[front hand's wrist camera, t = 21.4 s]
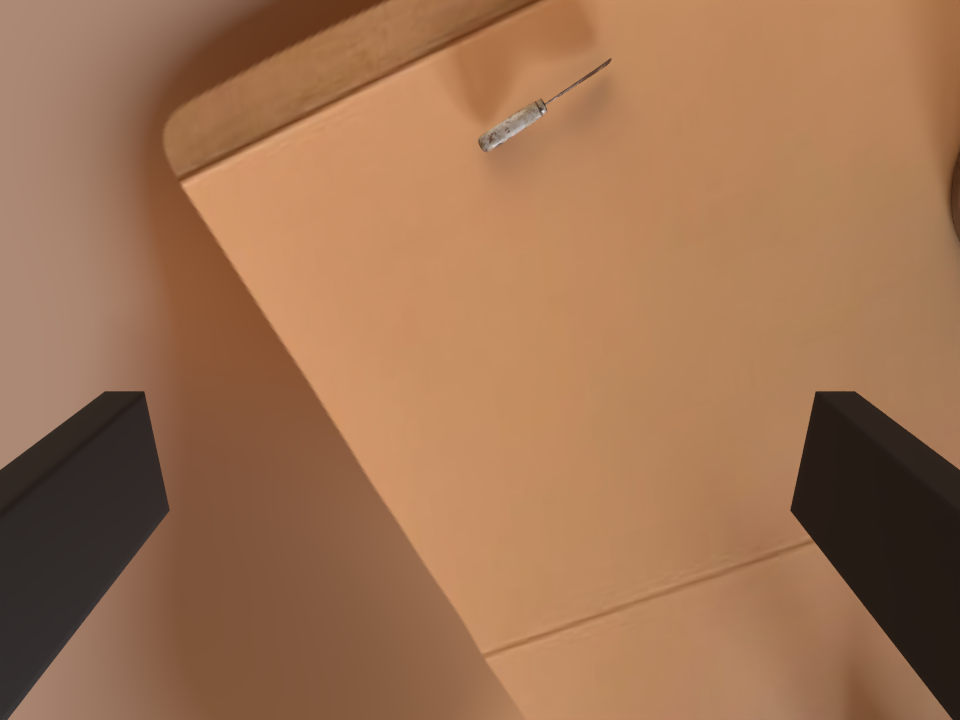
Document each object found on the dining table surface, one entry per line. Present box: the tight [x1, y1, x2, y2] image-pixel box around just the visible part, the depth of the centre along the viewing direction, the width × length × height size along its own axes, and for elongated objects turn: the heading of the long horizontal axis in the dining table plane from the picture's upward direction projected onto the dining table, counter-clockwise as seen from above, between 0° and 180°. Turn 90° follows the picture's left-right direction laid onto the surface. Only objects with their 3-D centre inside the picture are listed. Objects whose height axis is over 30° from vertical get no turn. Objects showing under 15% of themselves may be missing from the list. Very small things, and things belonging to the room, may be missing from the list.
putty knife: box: [478, 59, 611, 152], centre depth 34 cm, size 1×8×2 cm, turn 124°
